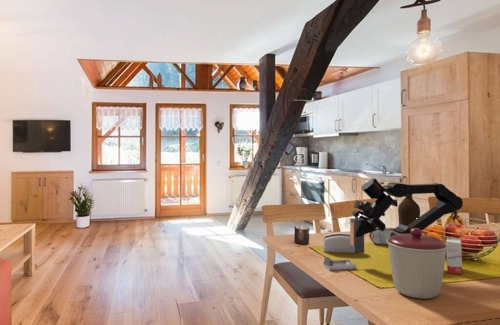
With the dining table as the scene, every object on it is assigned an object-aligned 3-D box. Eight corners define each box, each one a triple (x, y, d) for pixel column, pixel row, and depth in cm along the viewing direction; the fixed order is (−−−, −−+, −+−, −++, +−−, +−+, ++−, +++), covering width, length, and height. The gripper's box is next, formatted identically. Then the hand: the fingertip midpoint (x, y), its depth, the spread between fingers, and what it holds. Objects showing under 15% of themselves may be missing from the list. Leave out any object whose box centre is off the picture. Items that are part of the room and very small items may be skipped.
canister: (377, 283, 119) (376, 223, 119) (426, 281, 120) (426, 221, 120) (404, 306, 101) (403, 235, 101) (462, 303, 102) (462, 233, 102)
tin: (401, 244, 169) (401, 227, 169) (402, 246, 166) (402, 229, 166) (369, 243, 173) (369, 226, 173) (369, 244, 170) (369, 227, 170)
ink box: (462, 275, 126) (462, 243, 126) (446, 273, 128) (446, 241, 128) (461, 268, 133) (461, 238, 133) (446, 266, 136) (446, 236, 136)
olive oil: (407, 241, 175) (406, 192, 174) (393, 236, 185) (393, 190, 185) (424, 239, 177) (424, 191, 177) (410, 235, 188) (410, 190, 187)
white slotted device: (358, 249, 161) (359, 231, 157) (359, 255, 157) (360, 237, 153) (322, 248, 164) (322, 230, 160) (322, 254, 159) (322, 236, 156)
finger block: (359, 249, 140) (359, 218, 139) (364, 252, 136) (364, 219, 136) (349, 250, 139) (349, 218, 139) (354, 252, 135) (353, 220, 135)
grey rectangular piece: (349, 263, 141) (349, 255, 140) (356, 268, 134) (355, 260, 134) (323, 265, 139) (323, 256, 139) (329, 270, 133) (329, 261, 133)
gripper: (355, 191, 147) (331, 217, 146) (377, 196, 128) (350, 226, 127) (373, 208, 148) (349, 235, 147) (397, 216, 130) (370, 246, 128)
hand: (353, 235), depth 137 cm, fingers closed on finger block, 4 cm apart
